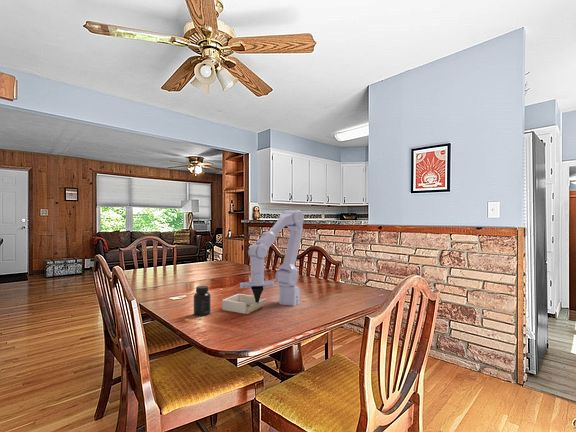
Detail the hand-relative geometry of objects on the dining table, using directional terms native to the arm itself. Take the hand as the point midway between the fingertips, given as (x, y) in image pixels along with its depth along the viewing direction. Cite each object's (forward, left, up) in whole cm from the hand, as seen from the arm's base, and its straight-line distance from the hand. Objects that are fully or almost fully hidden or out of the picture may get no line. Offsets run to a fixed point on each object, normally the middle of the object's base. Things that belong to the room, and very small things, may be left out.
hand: (257, 303), depth 134 cm
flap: (+1, 0, -3) cm, 3 cm away
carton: (+8, 0, -4) cm, 9 cm away
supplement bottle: (+18, +14, -4) cm, 23 cm away
